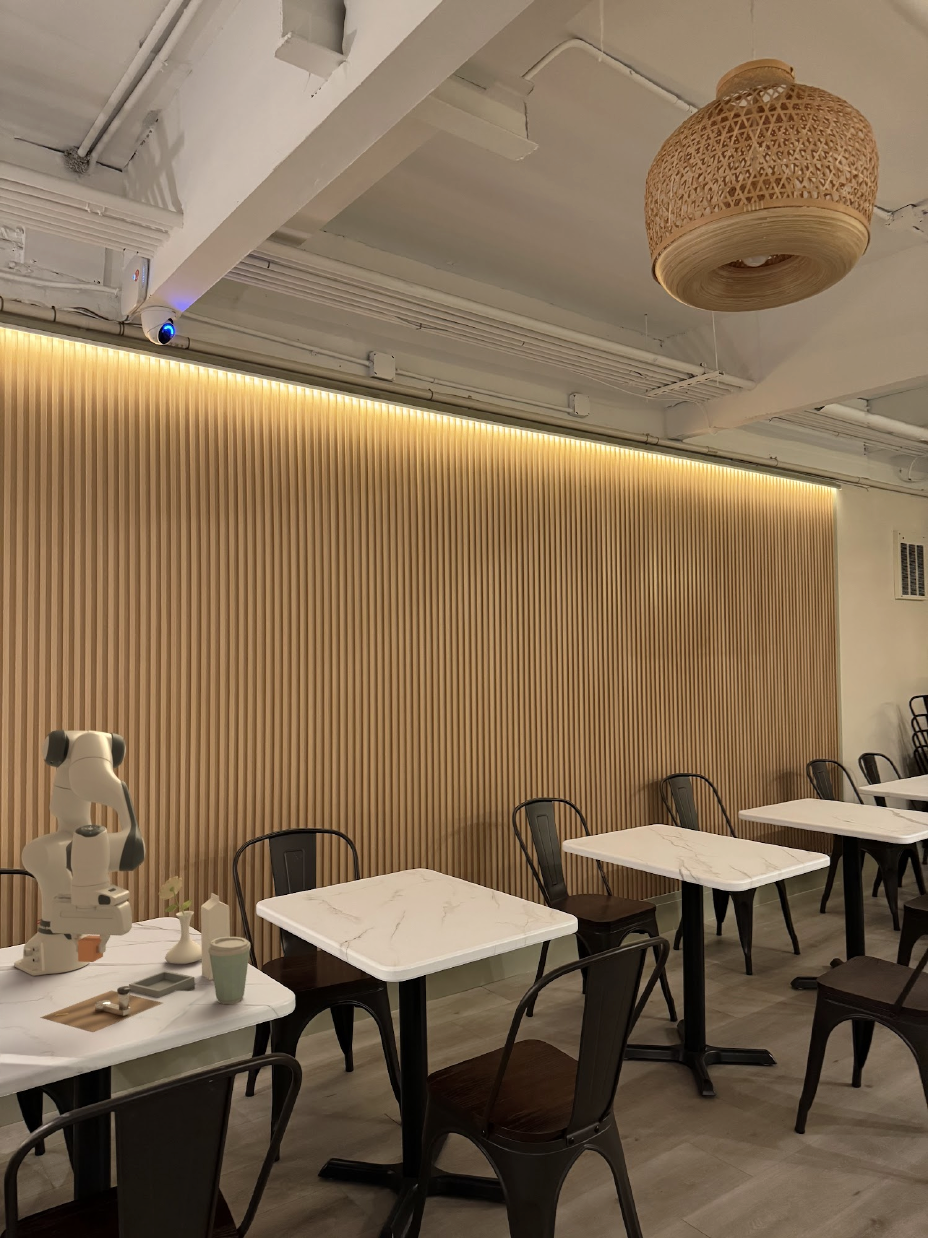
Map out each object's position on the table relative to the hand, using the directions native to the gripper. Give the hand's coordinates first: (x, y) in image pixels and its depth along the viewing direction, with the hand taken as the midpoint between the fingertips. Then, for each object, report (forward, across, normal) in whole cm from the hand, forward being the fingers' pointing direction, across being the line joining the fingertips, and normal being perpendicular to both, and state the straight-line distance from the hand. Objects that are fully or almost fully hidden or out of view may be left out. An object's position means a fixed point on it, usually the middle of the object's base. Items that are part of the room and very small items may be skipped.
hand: (90, 952), depth 212 cm
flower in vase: (+17, -1, +45) cm, 49 cm away
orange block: (+2, 0, 0) cm, 2 cm away
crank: (+15, +4, +3) cm, 16 cm away
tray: (+17, +6, +22) cm, 28 cm away
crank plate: (+17, 0, +4) cm, 17 cm away
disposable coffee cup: (+17, +27, +18) cm, 37 cm away
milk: (+17, +14, +36) cm, 42 cm away
